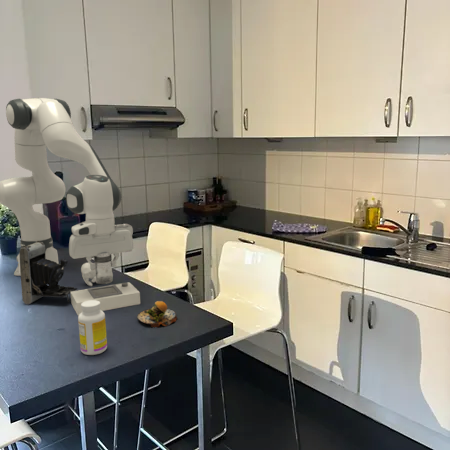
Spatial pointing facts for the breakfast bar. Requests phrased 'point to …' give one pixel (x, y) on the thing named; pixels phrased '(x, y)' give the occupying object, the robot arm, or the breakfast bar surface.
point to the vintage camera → (40, 274)
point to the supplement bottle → (92, 328)
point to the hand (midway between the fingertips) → (103, 267)
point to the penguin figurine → (88, 274)
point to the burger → (158, 315)
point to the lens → (103, 268)
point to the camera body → (107, 296)
